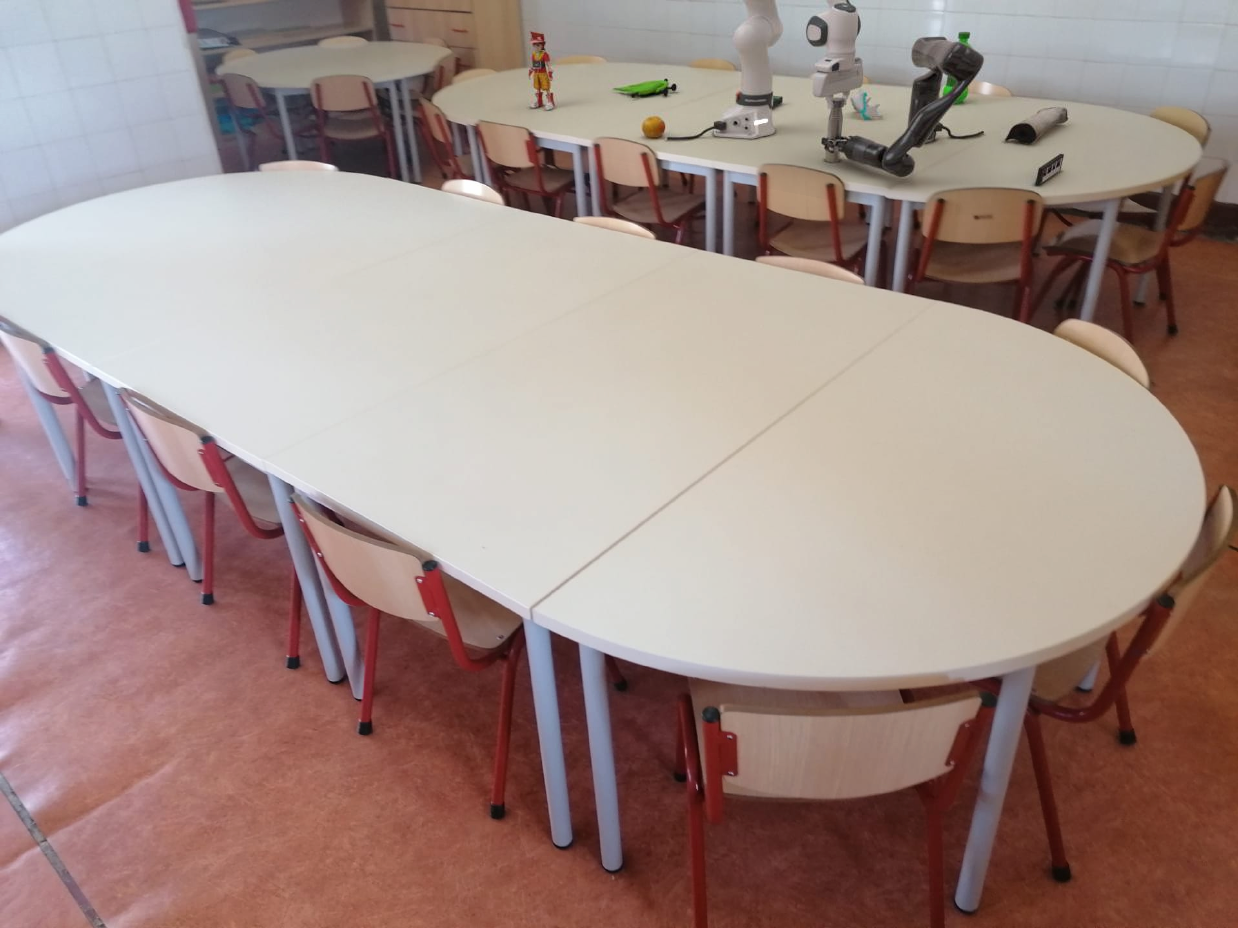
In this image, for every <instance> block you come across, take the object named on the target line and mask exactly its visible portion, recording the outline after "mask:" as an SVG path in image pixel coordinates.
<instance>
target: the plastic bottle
mask: <svg viewBox="0 0 1238 928" xmlns="http://www.w3.org/2000/svg"><path fill="white" fill-rule="evenodd" d="M970 36H971V32H970V31H959V32H958V36H957V39H958V42H962V43H965V44H966V45H968V46H969V47H971V48H972V49H974V47H972V45H971V44H970V43H969V42H968V41H969V39H970V38H971V37H970ZM946 77H947V78H946V84H945V85H944V87H943V90H942V96H944V95H945V94H947V93H948V92H949V91H950V90H951V89H952V88H953V87H954V85H955V84H956V83H957V82H956V81H955V80H954V79H952V78H950V77H949V76H946ZM968 95H969V86H968V87H967V88H966V90H965V91H964V92H963V93H962V95H961V96H960V97H959V98H958V99H957V101H956V102H955V103H954V104H960V103H961V102H963V101H964V100H966V98H967V96H968Z"/></svg>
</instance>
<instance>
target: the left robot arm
mask: <svg viewBox="0 0 1238 928" xmlns="http://www.w3.org/2000/svg"><path fill="white" fill-rule="evenodd" d="M742 1H743V2H744V5H745V6H746V10H747V15H748V20H745V21H743V22H742V23H741V24H740V25H739V26H738V27H737V28H736V29H735V32H734V34H733V40H732V41H733V46H734V48H735V49H736V51H737V53H738V56H739V61H740V67H741V90H737V91H736V92H735V103H734V104H733V105H732V106H730V107H729V108H727V110H726V111H724V113H722V114H721V117H720V120H716V121H713V126H710V127H708V128H706V129H704V130H703V131H701V132H700V133H698V134H695V135H691V136H667V137H666V140H667V141H685V140H694V139H697V138H700V137H702V136H703V135H704V134H706V133H707V132H709V131H712V130H713V135H714V136H715V137H721V138H722V137H723V138H736V139H737V138H738V139H750V140H753V139H754V140H755V139H758V138H761V137H766V136H770V135H773V134H774V133H775V132H776V131H775V127H774V120H773V108H772V106H773V96H774V91H773V77H774V76H773V75H774V68H773V66H772V65H771V62H770V58H769V48H771V47H773V46H774V45H775V44H777V42H778V41H779V40H780V39H781V37H782V35H783V32H784V25H783V22H782V19H781V18H780V16H779V12H778V7H777V6H778V5H777V2H776V0H742ZM826 2H827V4H828V6H829V8H830V9H828V10H826V11H824V12H821V13H818V14H815V15H813V16H811V17H810V19H809V20H808V21H807V24H806V28H805V34H806V39H807V41H808V43H809V44H810V46H812V47H815V48H823V47H826V48H827V49H826V55H824V57H822V58H821V59H820V60H818V61H816V63H815V64H814V71H815V73H814V75H813V81H812V94H813V97H815V98H820V99H823V98H825V100H826V103H827V105H826V107H827V109H828V110H831V109H833V108H834V107H835V106H834V105H835V103H833V101H832V98H834V96H835V95H838V94H842V95H841V98H844V106H846V105H847V101H848V98H849V96H850V93H851V91H852V90H856V89H860V88H862V86H863V84H864V66H863V59H862V58H861V57H859V56H857V57H856V52H857V49H856V42H857V41H856V40H857V38H858V36H859V34H860V31H861V29H862V28H861V27H862V22H861V18H860V16H859V15H860V14H859V13H858V8H857V7H856V6H855V5H853V4H851V2H850V0H826Z"/></svg>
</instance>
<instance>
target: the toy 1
mask: <svg viewBox="0 0 1238 928" xmlns="http://www.w3.org/2000/svg"><path fill="white" fill-rule="evenodd" d="M529 33H530V35H531V36H528V37H527V38H528V39H529V40H528V41H527V43H529V44H530V43H531V44H532V48H533V50H534V51H533V52H532V55H531V58H530V59H531V63H530V66H528V74H527V75H528V76H527V77H528V79H529V80H531V75H532V74H533V84H532V85H533V86H532V87H533V88H534V89H535V90H536V92H534V95H535V97H536V100H535V101H533V102H531V105H530V108H531V109H535V108H538V107H542V106H544V101H543V100H544V99H543V95H544V92H546V94H545V97H546V99H547V103H546V104H545V106H544V110H546V111H549V110H553V109H554V107H555V106H556V105H555V99H554V92H551V91H550V90H551V86H552V84H551V82H552V81H553V80H554V77H553V73H554V71H555V70H554V69H552V68H551V63H550V61H551V59H550V58H551V57H550V54H549V53H548V52H547V50H546V48H545V46H546V44H547V41H545V35H544V33H543V32H542V33H539V32H535V31H529Z"/></svg>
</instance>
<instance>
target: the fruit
mask: <svg viewBox="0 0 1238 928" xmlns="http://www.w3.org/2000/svg"><path fill="white" fill-rule="evenodd" d="M641 130H642V133H643V135H644V136H645V137H648V138H658V137H661V136H663V134H664V133H665V130H666V123H665V121H664V120H663V119H662V118H661V117H660V116H655V115H653V116H649V117H647V118H645V119H644V120H643V122H642V124H641Z"/></svg>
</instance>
